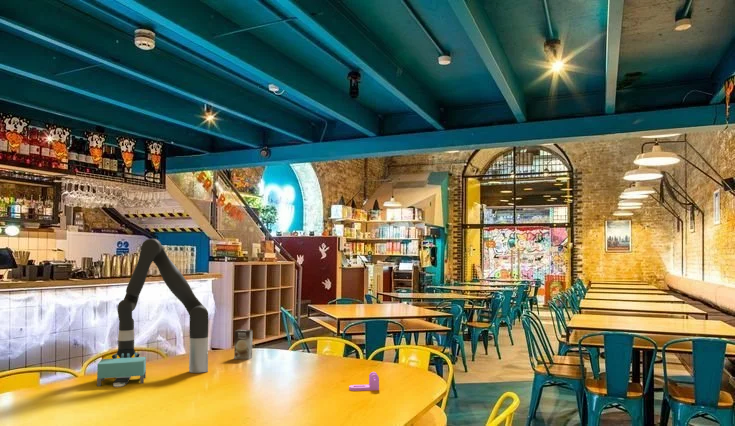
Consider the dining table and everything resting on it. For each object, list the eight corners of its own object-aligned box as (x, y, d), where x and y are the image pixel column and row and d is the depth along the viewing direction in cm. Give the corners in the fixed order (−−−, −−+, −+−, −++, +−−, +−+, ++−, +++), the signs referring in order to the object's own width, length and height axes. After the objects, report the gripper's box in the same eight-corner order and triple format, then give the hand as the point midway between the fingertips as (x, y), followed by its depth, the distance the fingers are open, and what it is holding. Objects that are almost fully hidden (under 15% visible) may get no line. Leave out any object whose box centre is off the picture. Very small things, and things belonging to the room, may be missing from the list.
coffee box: (233, 359, 337) (233, 330, 338) (237, 357, 344) (237, 329, 345) (249, 359, 336) (249, 330, 337) (252, 357, 343) (252, 329, 344)
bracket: (377, 387, 267) (377, 371, 267) (379, 390, 261) (378, 374, 262) (348, 388, 266) (348, 372, 266) (349, 391, 260) (349, 375, 260)
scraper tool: (120, 373, 301) (120, 361, 302) (133, 372, 303) (133, 360, 303) (113, 385, 274) (113, 372, 275) (127, 384, 276) (127, 371, 276)
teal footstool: (145, 377, 291) (145, 356, 291) (143, 383, 278) (143, 361, 279) (101, 380, 285) (101, 359, 286) (97, 386, 272) (97, 364, 273)
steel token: (125, 384, 276) (125, 382, 276) (123, 387, 271) (123, 384, 271) (114, 385, 275) (114, 382, 275) (112, 387, 270) (112, 385, 270)
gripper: (141, 337, 303) (141, 371, 302) (112, 338, 299) (111, 373, 298) (140, 339, 296) (139, 374, 295) (110, 340, 292) (109, 376, 291)
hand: (125, 373), depth 297 cm, fingers closed on scraper tool
